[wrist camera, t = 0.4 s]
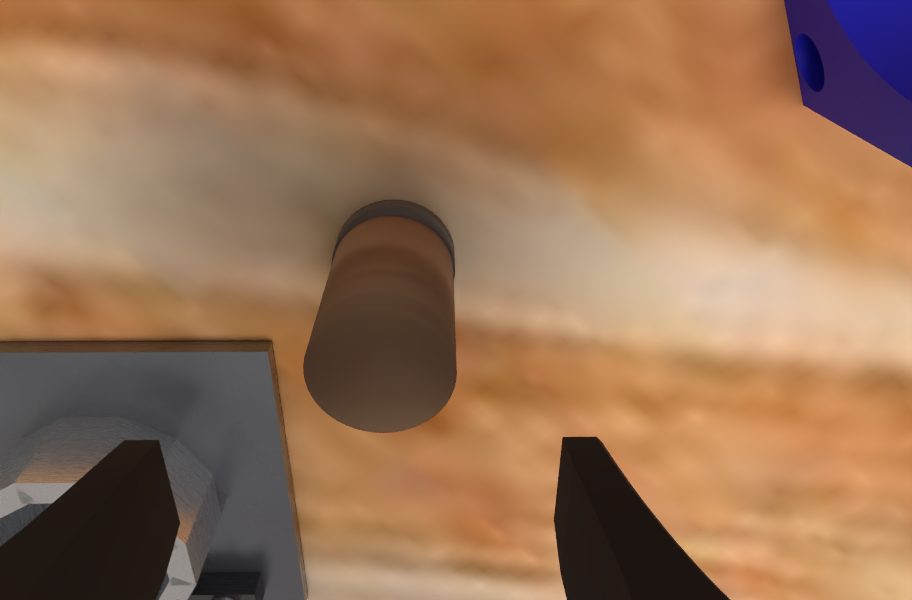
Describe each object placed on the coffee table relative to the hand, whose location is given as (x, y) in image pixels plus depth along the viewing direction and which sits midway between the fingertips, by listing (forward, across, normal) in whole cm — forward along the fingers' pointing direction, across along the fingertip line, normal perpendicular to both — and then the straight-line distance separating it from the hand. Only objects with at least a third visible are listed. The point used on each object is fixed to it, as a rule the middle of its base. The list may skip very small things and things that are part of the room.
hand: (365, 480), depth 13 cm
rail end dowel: (+9, 0, 0) cm, 9 cm away
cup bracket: (+9, +10, +9) cm, 16 cm away
